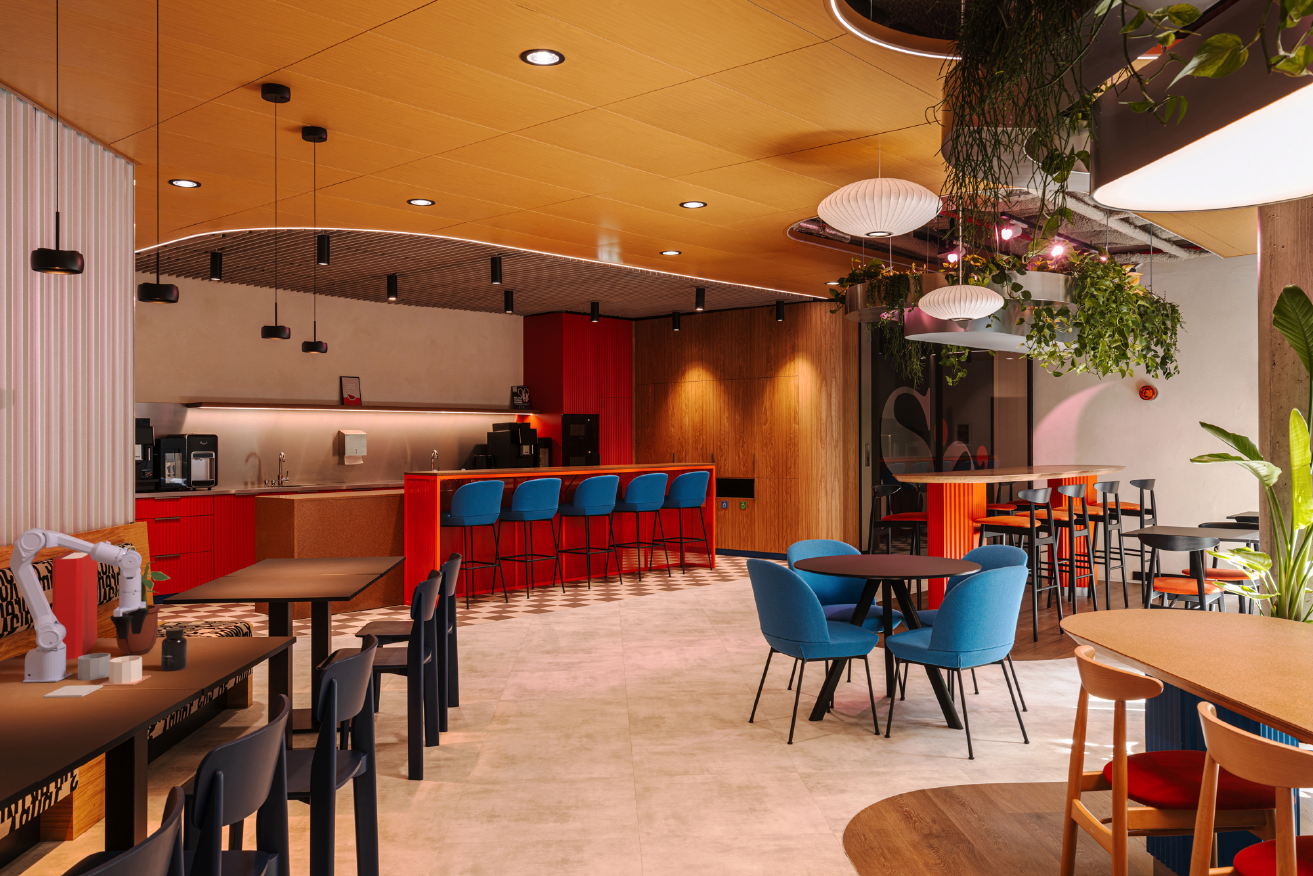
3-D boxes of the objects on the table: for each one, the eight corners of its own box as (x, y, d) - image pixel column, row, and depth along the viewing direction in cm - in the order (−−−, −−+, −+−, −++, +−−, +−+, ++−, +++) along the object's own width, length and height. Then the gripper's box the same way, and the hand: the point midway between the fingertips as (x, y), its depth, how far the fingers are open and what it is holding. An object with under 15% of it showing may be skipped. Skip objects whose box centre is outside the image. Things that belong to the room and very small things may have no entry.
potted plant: (144, 658, 280) (145, 548, 281) (96, 658, 281) (97, 548, 281) (175, 646, 298) (175, 542, 298) (130, 646, 298) (130, 543, 299)
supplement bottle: (160, 672, 262) (160, 632, 262) (161, 667, 268) (161, 628, 268) (186, 669, 265) (186, 630, 266) (187, 664, 271) (187, 626, 272)
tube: (99, 685, 247) (99, 663, 247) (117, 677, 257) (117, 655, 257) (133, 685, 248) (134, 662, 248) (151, 676, 257) (151, 655, 258)
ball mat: (43, 697, 236) (43, 695, 236) (65, 687, 246) (65, 685, 246) (82, 696, 236) (82, 694, 236) (102, 686, 246) (103, 685, 246)
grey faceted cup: (71, 680, 253) (72, 659, 253) (87, 673, 261) (88, 653, 261) (100, 679, 254) (100, 659, 254) (115, 672, 262) (115, 652, 262)
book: (69, 643, 303) (70, 550, 303) (96, 641, 306) (97, 549, 306) (50, 660, 278) (51, 559, 278) (80, 658, 281) (81, 558, 281)
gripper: (131, 594, 257) (130, 641, 257) (156, 587, 272) (155, 631, 272) (106, 595, 257) (105, 641, 257) (132, 587, 271) (132, 631, 271)
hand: (129, 636), depth 264 cm, fingers open, 7 cm apart
